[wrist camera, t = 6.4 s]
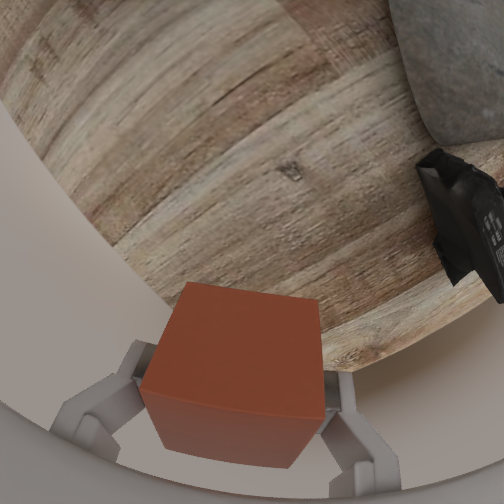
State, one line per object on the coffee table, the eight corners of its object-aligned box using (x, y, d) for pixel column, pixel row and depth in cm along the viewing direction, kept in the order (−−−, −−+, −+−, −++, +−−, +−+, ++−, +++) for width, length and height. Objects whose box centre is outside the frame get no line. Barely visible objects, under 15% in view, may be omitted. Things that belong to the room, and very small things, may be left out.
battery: (448, 286, 22) (497, 236, 19) (490, 341, 14) (551, 277, 12) (375, 187, 20) (435, 128, 17) (420, 219, 12) (500, 134, 10)
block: (318, 299, 10) (326, 419, 6) (293, 375, 12) (288, 469, 8) (186, 280, 10) (137, 388, 6) (192, 360, 12) (164, 448, 8)
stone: (433, 159, 14) (360, -63, 7) (412, 148, 17) (350, -43, 10) (575, 142, 10) (537, -21, 3) (552, 132, 13) (516, -17, 6)
